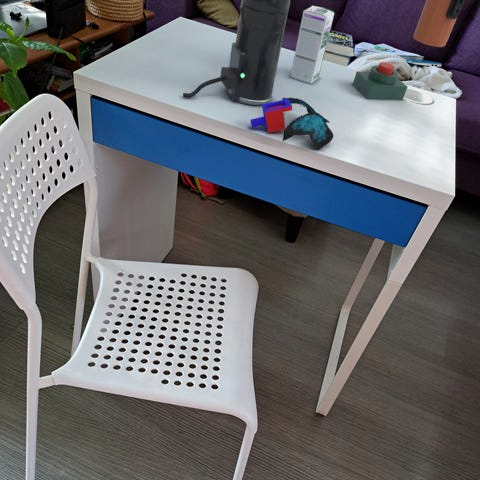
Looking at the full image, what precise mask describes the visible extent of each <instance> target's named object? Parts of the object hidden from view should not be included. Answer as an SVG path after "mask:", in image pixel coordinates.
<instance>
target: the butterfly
mask: <svg viewBox="0 0 480 480" xmlns="http://www.w3.org/2000/svg"><path fill="white" fill-rule="evenodd" d="M283 99H289V101H290V103H291V105H295V104H296V105H300V107H303V108H306V112H307V113H305V114H301V115H300V116H299V117H297V118H295V119H293V120H292V121H291V122H290V123H289V124H288V125H287V126H285V129H284V130H283V133H282V134H283V135H282V142H285V141H287V140H288V139H290V138H292V137H295V136H309V139H310V141H311V144H312V145H313V147H314V148H315V149H316V150H317V151H319V150H320V149H322V148H324V147H325V146H327V145H328V144H329V143H331V142H332V140H333V139H334V133H333V131H332V130H331V129H330V127H329V126H328V124H330V121H329V120H328V119H327V118H325V117H324V116H323V115H322V114H320V113H319V112H317V111H316V110H315V109H314V108H313V107H312V106H311V105H310V104H309V103H308V102H306V101H304V100H303V99H300V98H296V97H282V99H281V100H283ZM327 123H328V124H327Z"/></svg>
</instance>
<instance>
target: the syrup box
mask: <svg viewBox="0 0 480 480" xmlns="http://www.w3.org/2000/svg"><path fill="white" fill-rule="evenodd" d="M334 16H335V11H333V10H331V9H328V8H326V7H322V6H316V5H311V6H310V7H308V8H306V9H304V10H303V11H302V17H301V22H300V26H299V31H298V36H297V41H296V45H295V52H294V56H293V61H292V65H291V71H290V75H289V76H290V77H291V78H293V79H295V80H298V81H300V82H304V83H307V84H313V83H314V82H315V81H316V80H318V78H319V77H320V74H321V71H322V66H323V61H324V58H325V53H326V49H327V45H328V41H329V38H330V33H331V29H332V25H333V20H334Z"/></svg>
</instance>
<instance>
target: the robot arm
mask: <svg viewBox="0 0 480 480" xmlns="http://www.w3.org/2000/svg"><path fill="white" fill-rule="evenodd" d="M465 1H466V0H451V3H450V5H449V8H448V10H447V13H446V17H447V18H448V19H456V18H457V19H458V17H459V15H460V13H461V11H462V8H463V6H464V3H465ZM290 5H291V0H241V2H240V7H239V15H238V22H237V29H236V37H235V41H234V42H232V43H231V50H230V57H229V66H228V67H227V66H222V67H221V69H220V76H219V77H216V78H211V79H209V80H206V81H204V82H202V83H201V84H200V85H198V86H197V87H196V88H195V89H194V90H193V91H192V92H189V93H188V92H183V93H182V96H183V98H188V99H189V98H190V99H191V98H193V97H195V96H196V95H198V93H199V92H200V91H201V90H203V89H204V88H206V87H208V86H210V85H213V84H216V83H217V84H218V83H220V82H221V83H222V85H223V86H224V88H225V90H226V92H227V94H228V95H229V97H230V98H231V100H232V102H237V103H242V104H245V105H249V106H250V105H251V106H262V104H267V103H271V101H272V99H273V91H274V86H275V79H276V74H277V69H278V64H279V60H280V55H281V49H282V44H283V39H284V35H285V30H286V26H287V25H286V24H287V19H288V14H289V10H290ZM457 16H458V17H457ZM457 19H456V20H457Z"/></svg>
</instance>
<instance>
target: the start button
mask: <svg viewBox="0 0 480 480" xmlns="http://www.w3.org/2000/svg"><path fill="white" fill-rule="evenodd" d="M377 66H378V69H377V71H378V72H380V73H382V74H386V75H392V72H393V70H395V66H394V65H393V64H392V63H389V62H386V61H381V62H379V63H378V65H377Z"/></svg>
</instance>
